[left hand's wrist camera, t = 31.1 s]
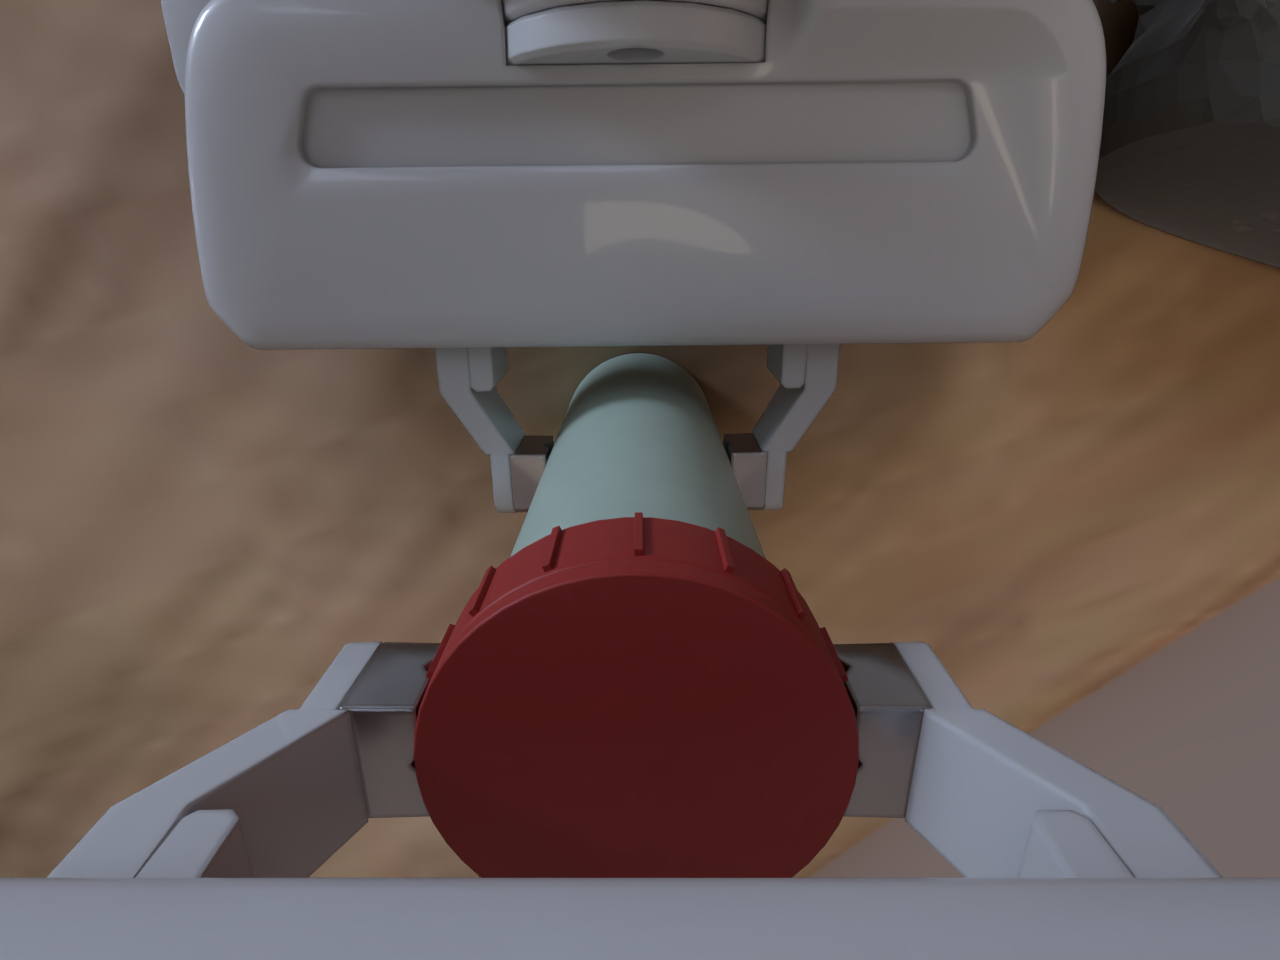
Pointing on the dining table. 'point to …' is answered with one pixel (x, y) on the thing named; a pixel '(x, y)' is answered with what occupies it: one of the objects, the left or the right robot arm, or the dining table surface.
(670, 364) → the jar
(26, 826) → the dining table surface
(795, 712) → the lid
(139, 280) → the dining table surface
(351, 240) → the right robot arm
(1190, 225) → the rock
